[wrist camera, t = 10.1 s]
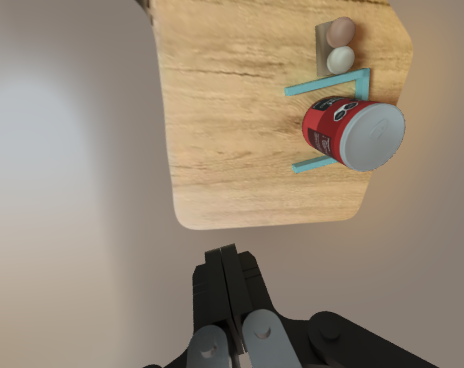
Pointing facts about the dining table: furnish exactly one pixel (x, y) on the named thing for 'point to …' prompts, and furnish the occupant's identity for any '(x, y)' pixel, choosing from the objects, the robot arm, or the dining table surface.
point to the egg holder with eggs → (334, 46)
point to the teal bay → (360, 92)
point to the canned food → (354, 131)
